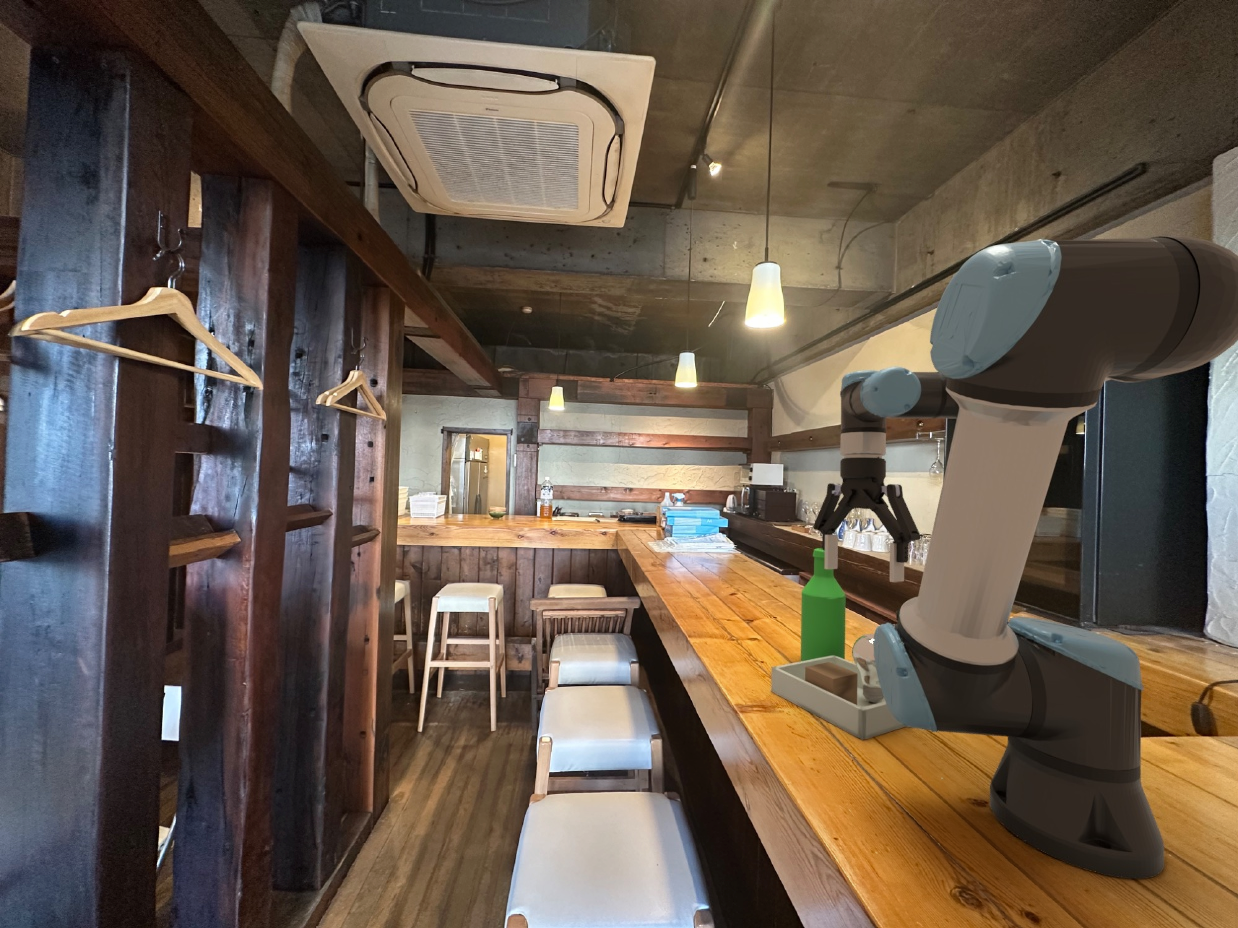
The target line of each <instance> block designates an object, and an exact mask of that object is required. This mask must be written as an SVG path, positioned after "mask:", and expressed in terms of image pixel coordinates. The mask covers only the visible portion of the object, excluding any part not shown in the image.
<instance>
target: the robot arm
mask: <svg viewBox="0 0 1238 928" xmlns="http://www.w3.org/2000/svg"><path fill="white" fill-rule="evenodd" d="M932 320H933V321H932V325H931V330H930V337H929V343H930V344H931V345H932V346H931V349H930V359H931V360H930V361H931V363H932V365H933V368H934V369H935V370H936V371H911V370H910V369H907V368H905V367H903V366H890V367H887V368H882V369H880V370H875V369H873V370H872V369H870V370H867V369H866V370H857V371H853V372H848V373H846V374H845V375H843V377H842V378H841V387H840V392H839V395H840V445H839V446H840V449H839V451H840V452H839V454H840V455H841V456H842V457H843V458H841V460H840V462H839V463H840V465H839V466H840V467H839V468H840V469H839V470H840V471H839V472H840V473H839V474H840V478H841V479H842V483H834V482H833V483H831V482H830V483H828V484H827V487H826V488H827V489H826V495H825V498H824V500H823V502H822V504H821V507H820V509H819V512H818V514H817V517H816V519H815V520H814V521H815V522H814V523H813V526H812V527H813V529H814V530H815V531H818V532H820V533H821V536H822V543H821V545H822V546H821V548H822V549H823V550H824V551H825V569H834V570H837V569H838V568H839V567H838V563H839V561H838V560H839V557H838V555H839V554H838V552H839V549H838V548H839V534H837V532H836V531H837V530H838V528H839V527H840V526H841V524H842V523H843V522H844V520H845V519H846V518H847V516H848V515H849V514H850V512H851V511H852V510H854V509H862V510H863V509H864V510H870V511H871V512H873V513H874V514H875V516H876V517H877V518H878V520H879V521H880V522H881V524H882V525H883V527H884V528H885V529H886V531H887V532H888V534H889V535H890V537H892V540H893V541H892V542H889V582H890V583H900V582H905V563H908V562H909V544H910V543H911V542H914V541H919V540H920V539H921V538H922V537H921V534H920V531H919V530H918V527H917V525H916V523H915V520H914V519H913V517H912V514H911V511H910V510H909V508H908V505H907V503H906V501H905V498H904V494H903V486H902V485H901V484H894V483H888V484H887V485H886V484H885V479H886V477H887V475H886V473H887V460H885V458H883V456H885V455H887V452H886V451H887V449H886V448H887V446H886V445H887V443H886V442H887V441H886V440H887V419H933V420H935V419H953V420H954V419H956V422H955V426H954V431H953V436H952V440H951V444H950V451H949V454H948V458H947V463H946V469H945V472H944V477H943V480H942V481H943V482H942V487H941V490H940V495H939V499H938V505H937V507H936V508H937V509H936V513H935V519H934V521H933V522H934V523H933V526H932V527H933V528H932V530H931V531H932V532H931V537H930V540H929V545H928V549H927V555H926V559H925V563H924V569H923V573H922V577H921V582H920V585H919V591H918V596H915V597H912V598H910V599H908V600H907V601H905V602H903V604H902V605H901V607H900V608H899V609H900V613H899V618H898V621H896V624H895V623H894V624H892V623H891V622H886V623H881V624H880V625H878V626H877V627H876V628H875V631H874V633H873V634H874V658H875V665H876V670H877V675H878V680H879V684H880V687H881V690H882V694H883V696H884V699H885V702H886V704H887V706H888V708H889V710H890V712H891V713H892V715H893V716H894V717H895V718H896V720H897V721H899V722H900V723H901V724H903V725H905V726H906V728H907V727H908V728H913V729H920V730H925V731H926V730H927V731H930V732H932V733H934V732H935V733H937V732H940V733H941V732H942V733H943V732H945V733H956V734H970V735H982V736H997V737H1007V745H1006V747H1005V749H1004V752H1003V754H1002V757H1001V759H1000V761H999V763H998V765H997V768H996V770H995V771H994V774H993V777H992V779H991V782H990V785H989V807H990V810H991V812H992V814H993V816H994V817H995V818H996V820H997V821H998V822H999V823H1000V824H1002V826H1003V827H1004V828H1005V829H1007V830H1008V831H1009V832H1011V833H1012V834H1013V835H1015V836H1016V837H1017V838H1019V839H1020V840H1021V841H1023V842H1025V843H1026V844H1027V845H1030V846H1032V847H1033V848H1035V849H1037V850H1039V851H1041V852H1042V853H1045V854H1047V856H1048V855H1049V856H1051V857H1053V858H1055V859H1056V860H1059V861H1062V862H1064V863H1065V864H1066V863H1067V864H1069V865H1071V866H1075V867H1077V868H1080V869H1083V870H1085V871H1086V870H1087V871H1089V870H1091V871H1090V872H1093V871H1096V872H1097V873H1098V874H1101V875H1104V876H1105V875H1106V876H1109V877H1115V878H1116V877H1117V878H1122V879H1134V880H1136V879H1137V880H1138V879H1140V880H1141V879H1147V878H1148V879H1149V878H1153V877H1155V876H1158V875H1159V874H1160V873H1161V872H1162V871H1164V867H1165V845H1164V844H1165V843H1164V839H1163V836H1162V835H1161V832H1160V828H1159V826H1158V823H1157V821H1156V818H1155V816H1154V813H1153V810H1152V808H1151V806H1150V803H1149V800H1148V797H1147V796H1146V793H1145V791H1144V788H1143V785H1142V781H1141V780H1142V779H1141V777H1142V775H1141V773H1142V770H1141V768H1142V767H1141V762H1142V758H1141V757H1142V756H1141V755H1142V752H1141V751H1142V742H1141V741H1142V738H1141V737H1142V727H1141V726H1142V691H1144V685H1143V684H1142V683H1143V682H1142V675H1141V674H1142V672H1141V664H1140V658H1139V656H1138V655H1137V653H1136V651H1134V650H1133V649H1132V648H1131V647H1130V646H1129V645H1127V644H1125V643H1123V642H1121V641H1120V640H1117V639H1114V638H1112V637H1109V636H1107V635H1104V634H1101V633H1097V632H1094V631H1091V630H1088V629H1085V628H1080V627H1077V626H1072V625H1069V624H1064V623H1060V622H1055V621H1051V620H1047V619H1040V618H1035V617H1028V616H1012V617H1011V618H1010V615H1011V612H1012V609H1013V605H1014V602H1015V599H1016V596H1017V592H1018V589H1019V585H1020V581H1021V579H1022V576H1023V572H1024V569H1025V567H1026V562H1027V559H1028V555H1029V552H1030V550H1031V547H1032V542H1033V539H1034V537H1035V533H1036V530H1037V526H1038V523H1039V519H1040V516H1041V514H1042V511H1043V510H1042V509H1043V506H1044V503H1045V499H1046V496H1047V493H1048V490H1049V487H1050V483H1051V480H1052V477H1053V473H1054V470H1055V467H1056V463H1057V460H1058V456H1059V453H1060V451H1061V447H1062V444H1063V441H1064V436H1065V433H1066V431H1067V427H1068V423H1069V421H1071V420H1072V419H1073V418H1075V417H1076V416H1079V415H1081V414H1082V413H1084V412H1086V411H1089V410H1090V409H1093V408H1094V407H1096V405H1097V403H1098V401H1099V398H1100V394H1101V391H1102V389H1103V388H1102V387H1103V386H1104V383H1105V382H1108V381H1112V380H1113V381H1116V382H1122V383H1139V382H1145V381H1149V380H1154V379H1157V378H1160V377H1161V378H1162V377H1164V376H1169V375H1174V374H1179V373H1183V372H1186V371H1189V370H1192V369H1195V368H1197V367H1201V366H1203V365H1204V364H1207V363H1209V362H1211V361H1213V360H1215V359H1216V358H1218V357H1220V356H1221V355H1222V354H1224V353H1225V352H1226V351H1227V350H1229V349H1230V348H1232V346H1234V345H1235V344H1236V343H1237V342H1238V254H1236V253H1235V252H1233V250H1231V249H1230V248H1227V247H1224V246H1222V245H1219V244H1218V243H1216V242H1213V241H1211V240H1207V239H1203V238H1198V237H1191V236H1183V235H1182V236H1181V235H1171V236H1170V235H1167V236H1165V235H1163V236H1160V235H1159V236H1153V237H1127V238H1126V237H1125V238H1124V237H1122V238H1121V237H1119V238H1087V239H1086V238H1085V239H1042V238H1040V239H1036V240H1030V241H1029V240H1028V241H1020V242H1019V241H1018V242H1011V243H1010V242H1009V243H1001V244H997V245H992V246H988V247H986V248H984V249H982V250H980V251H978V252H976V253H975V254H974V255H972V256H971V257H970V258H969V259H967V260H966V261H965V262H964V263H963V264H962V265H961V267H960V268H959V269H958V270H957V272H956V273H955V274H954V275H953V276H952V278H951V279H950V281H949V283H948V285H946V288H945V289H944V290H943V293H942V295H941V298H940V300H939V303H938V305H937V308H936V312H935V313H934V317H933V319H932ZM841 495H842V497H841ZM884 496H886V497H887V500H888V503H889V504H887V502H886V501H885V499H884ZM840 498H841V499H840ZM889 506H890V508H891V510H892V511H891V510H890V509H889ZM892 512H893V513H892ZM1007 622H1009V623H1008V624H1007ZM1096 872H1095V873H1096ZM1152 876H1153V877H1152Z"/></svg>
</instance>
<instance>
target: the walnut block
mask: <svg viewBox="0 0 1238 928" xmlns="http://www.w3.org/2000/svg"><path fill="white" fill-rule="evenodd" d="M857 676H858V673H855V672H853V671H850V670H848V669H845V668H843V667H840V666H838V665H835V664H833V663H830V662H826V663H822V664H817V665H812V666H807V667H805V681H806V682H809V683H811V684H813V685H815V686H817V687H819V688H821V689H823V690H826V691H828V692H830V693H832V694H834V695H836V696H838V697H840V698H843V699H845V700H847V701H849V702H851V703H853V704H855V705H857Z"/></svg>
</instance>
